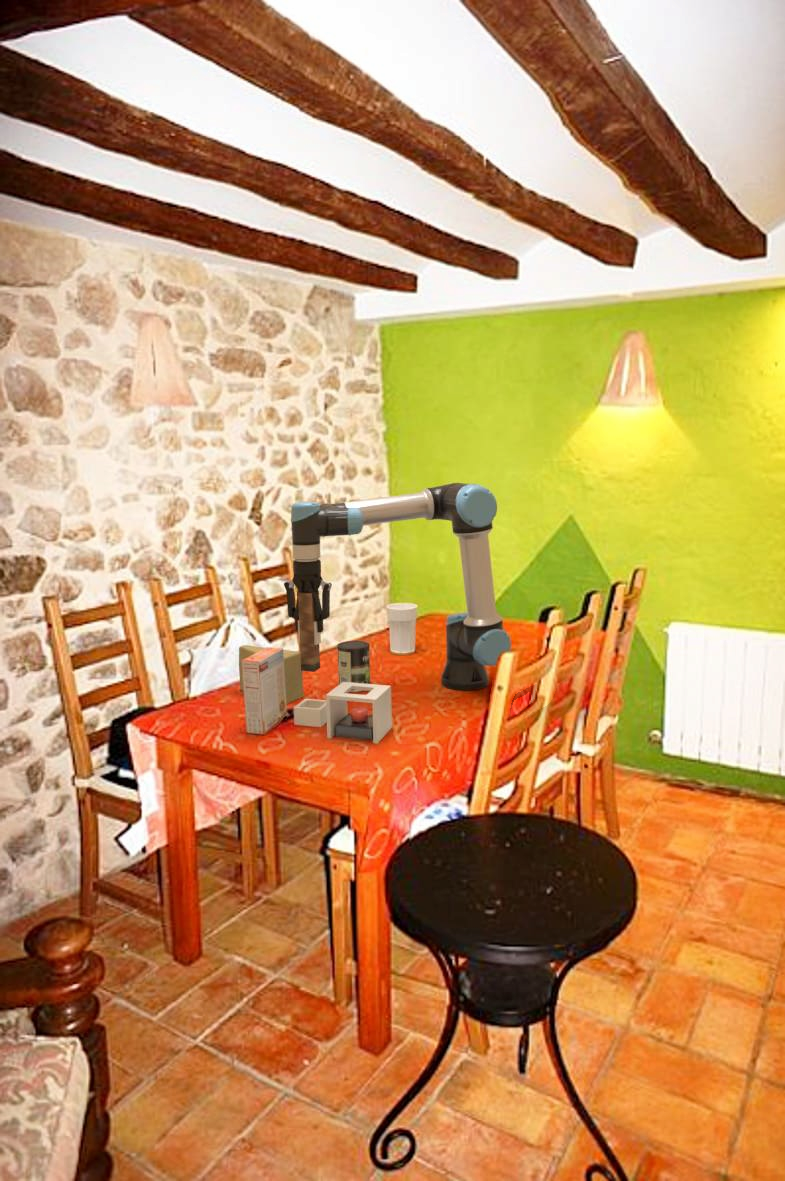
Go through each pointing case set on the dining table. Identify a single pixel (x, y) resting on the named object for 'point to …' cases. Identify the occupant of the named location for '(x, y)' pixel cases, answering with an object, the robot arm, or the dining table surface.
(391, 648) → the cup
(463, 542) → the robot arm
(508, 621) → the dining table surface
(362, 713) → the red round piece
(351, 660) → the coffee can
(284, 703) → the cracker box
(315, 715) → the holder
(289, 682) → the beige block
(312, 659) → the brown wooden dowel
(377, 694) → the guard
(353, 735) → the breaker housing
